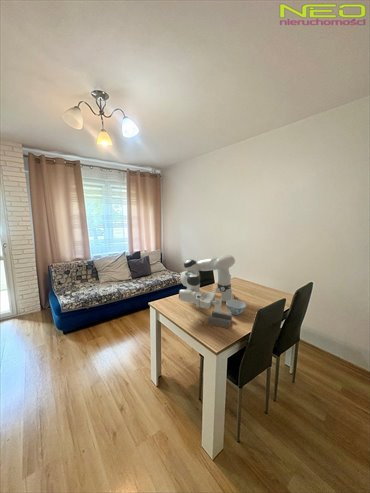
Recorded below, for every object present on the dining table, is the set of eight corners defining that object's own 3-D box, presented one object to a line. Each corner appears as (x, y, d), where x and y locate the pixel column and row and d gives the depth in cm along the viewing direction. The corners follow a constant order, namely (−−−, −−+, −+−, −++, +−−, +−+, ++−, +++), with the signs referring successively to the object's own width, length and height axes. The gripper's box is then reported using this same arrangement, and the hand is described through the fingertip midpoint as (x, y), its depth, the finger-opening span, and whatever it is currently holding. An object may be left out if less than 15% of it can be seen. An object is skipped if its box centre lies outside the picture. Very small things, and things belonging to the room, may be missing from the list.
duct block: (212, 316, 150) (213, 310, 149) (231, 320, 145) (232, 314, 144) (208, 324, 139) (208, 318, 138) (228, 328, 133) (229, 322, 133)
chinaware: (236, 320, 145) (237, 309, 144) (221, 311, 157) (222, 302, 156) (249, 314, 154) (250, 304, 152) (234, 307, 166) (234, 298, 164)
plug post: (215, 309, 141) (216, 292, 139) (221, 310, 140) (222, 293, 138) (214, 311, 137) (215, 294, 135) (220, 312, 136) (220, 295, 134)
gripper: (203, 296, 152) (222, 299, 147) (195, 308, 133) (216, 312, 128) (204, 288, 151) (222, 291, 146) (195, 299, 132) (216, 302, 127)
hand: (219, 301), depth 137 cm, fingers closed on plug post, 4 cm apart
